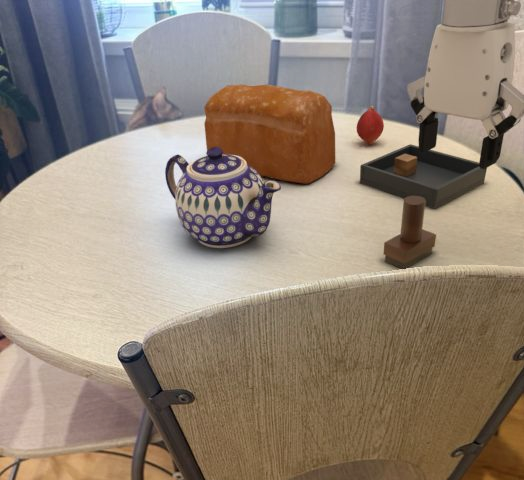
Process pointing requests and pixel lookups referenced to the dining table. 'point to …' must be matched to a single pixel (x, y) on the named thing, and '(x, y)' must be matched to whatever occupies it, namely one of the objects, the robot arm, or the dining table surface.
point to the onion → (370, 126)
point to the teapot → (220, 198)
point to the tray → (424, 176)
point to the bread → (273, 130)
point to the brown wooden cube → (405, 165)
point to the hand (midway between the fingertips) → (456, 157)
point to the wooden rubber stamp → (410, 236)
